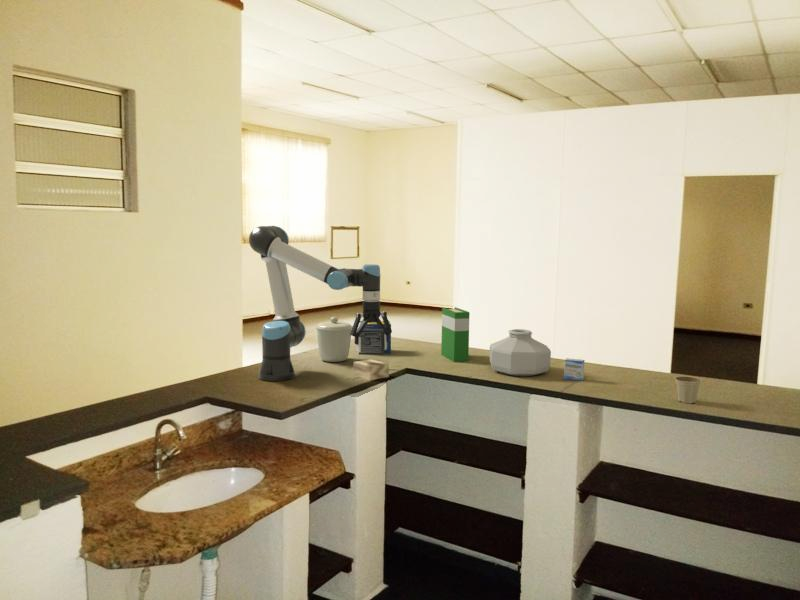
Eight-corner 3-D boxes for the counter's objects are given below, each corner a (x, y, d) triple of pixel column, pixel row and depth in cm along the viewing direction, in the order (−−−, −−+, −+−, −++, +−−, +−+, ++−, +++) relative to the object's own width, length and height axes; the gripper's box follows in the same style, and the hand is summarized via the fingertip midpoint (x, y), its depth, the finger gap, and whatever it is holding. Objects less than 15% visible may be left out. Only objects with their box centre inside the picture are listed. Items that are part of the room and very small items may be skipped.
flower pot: (679, 404, 242) (681, 382, 241) (669, 397, 252) (670, 376, 251) (704, 404, 242) (706, 382, 241) (693, 398, 252) (694, 376, 251)
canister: (307, 360, 313) (307, 316, 310) (334, 354, 326) (334, 313, 324) (333, 365, 301) (333, 320, 299) (360, 359, 315) (360, 316, 312)
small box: (384, 352, 284) (384, 328, 282) (382, 355, 277) (382, 331, 276) (360, 351, 285) (360, 328, 284) (358, 354, 278) (358, 330, 277)
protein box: (359, 350, 339) (360, 320, 337) (389, 349, 341) (389, 320, 339) (360, 354, 329) (361, 323, 327) (391, 353, 330) (391, 323, 329)
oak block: (370, 380, 275) (370, 366, 274) (353, 375, 284) (353, 362, 283) (388, 377, 281) (388, 363, 280) (371, 372, 290) (371, 359, 289)
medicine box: (563, 379, 280) (564, 359, 279) (565, 377, 284) (565, 357, 283) (582, 381, 277) (583, 361, 276) (583, 379, 281) (584, 359, 280)
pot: (479, 374, 288) (480, 332, 286) (498, 362, 313) (499, 324, 311) (542, 381, 276) (544, 338, 274) (556, 368, 301) (558, 328, 299)
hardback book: (441, 354, 329) (442, 307, 326) (454, 354, 331) (455, 307, 328) (454, 362, 312) (455, 312, 309) (468, 361, 314) (469, 312, 312)
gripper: (349, 303, 269) (349, 354, 272) (400, 300, 281) (399, 349, 284) (342, 301, 276) (342, 351, 278) (391, 298, 287) (391, 346, 290)
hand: (371, 350), depth 281 cm, fingers closed on small box, 12 cm apart
